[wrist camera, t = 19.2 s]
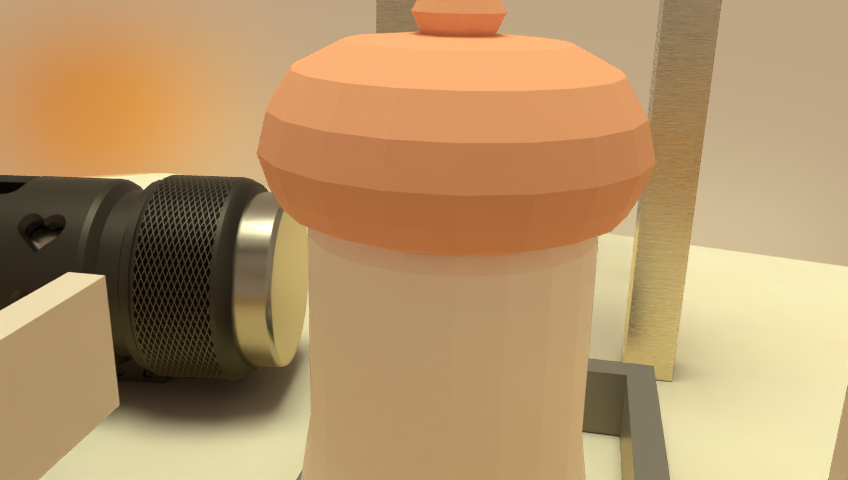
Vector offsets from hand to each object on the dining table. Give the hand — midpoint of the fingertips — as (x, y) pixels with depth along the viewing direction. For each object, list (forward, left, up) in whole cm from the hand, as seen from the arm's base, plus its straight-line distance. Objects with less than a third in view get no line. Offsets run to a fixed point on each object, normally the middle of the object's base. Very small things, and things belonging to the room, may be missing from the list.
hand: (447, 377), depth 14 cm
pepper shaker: (-2, +1, -13) cm, 13 cm away
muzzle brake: (-29, -12, -13) cm, 34 cm away
